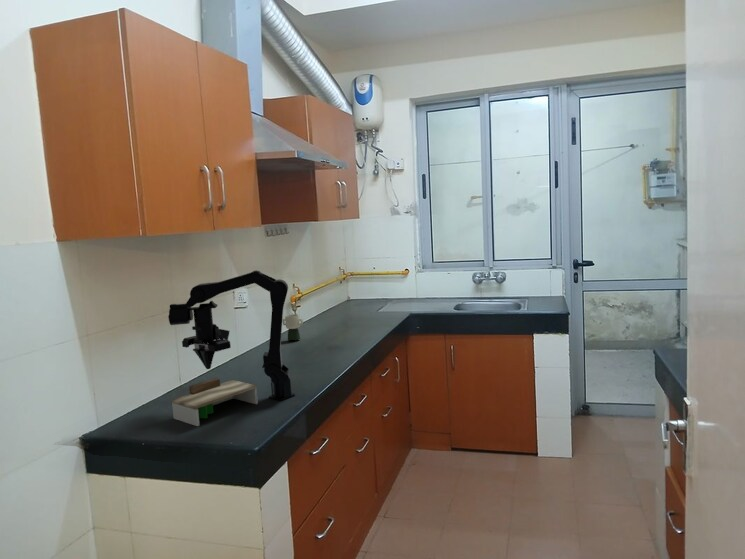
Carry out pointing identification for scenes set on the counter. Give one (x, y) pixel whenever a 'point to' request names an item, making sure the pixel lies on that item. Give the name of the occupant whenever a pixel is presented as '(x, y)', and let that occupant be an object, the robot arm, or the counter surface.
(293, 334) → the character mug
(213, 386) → the lid
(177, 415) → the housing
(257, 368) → the counter surface
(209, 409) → the pipe clamp
